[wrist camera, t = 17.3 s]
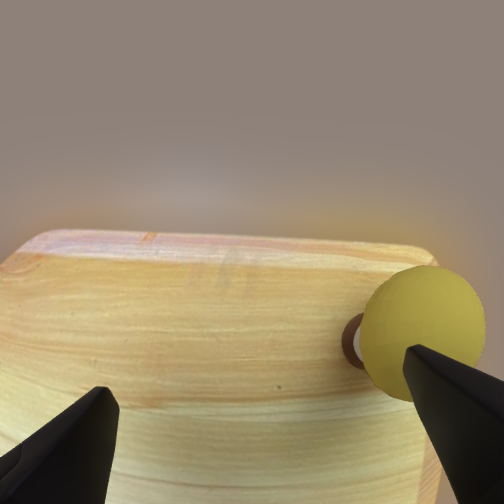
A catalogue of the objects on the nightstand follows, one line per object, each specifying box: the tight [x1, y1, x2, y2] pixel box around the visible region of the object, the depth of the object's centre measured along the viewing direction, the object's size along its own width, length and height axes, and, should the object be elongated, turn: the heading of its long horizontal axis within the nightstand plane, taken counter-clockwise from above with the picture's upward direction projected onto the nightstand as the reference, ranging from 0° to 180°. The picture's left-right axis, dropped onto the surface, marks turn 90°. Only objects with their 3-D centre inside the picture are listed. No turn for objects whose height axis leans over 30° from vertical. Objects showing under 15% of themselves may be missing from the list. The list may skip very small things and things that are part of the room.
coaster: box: [342, 313, 365, 369], centre depth 19 cm, size 4×4×1 cm
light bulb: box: [353, 265, 486, 402], centre depth 14 cm, size 7×7×10 cm
